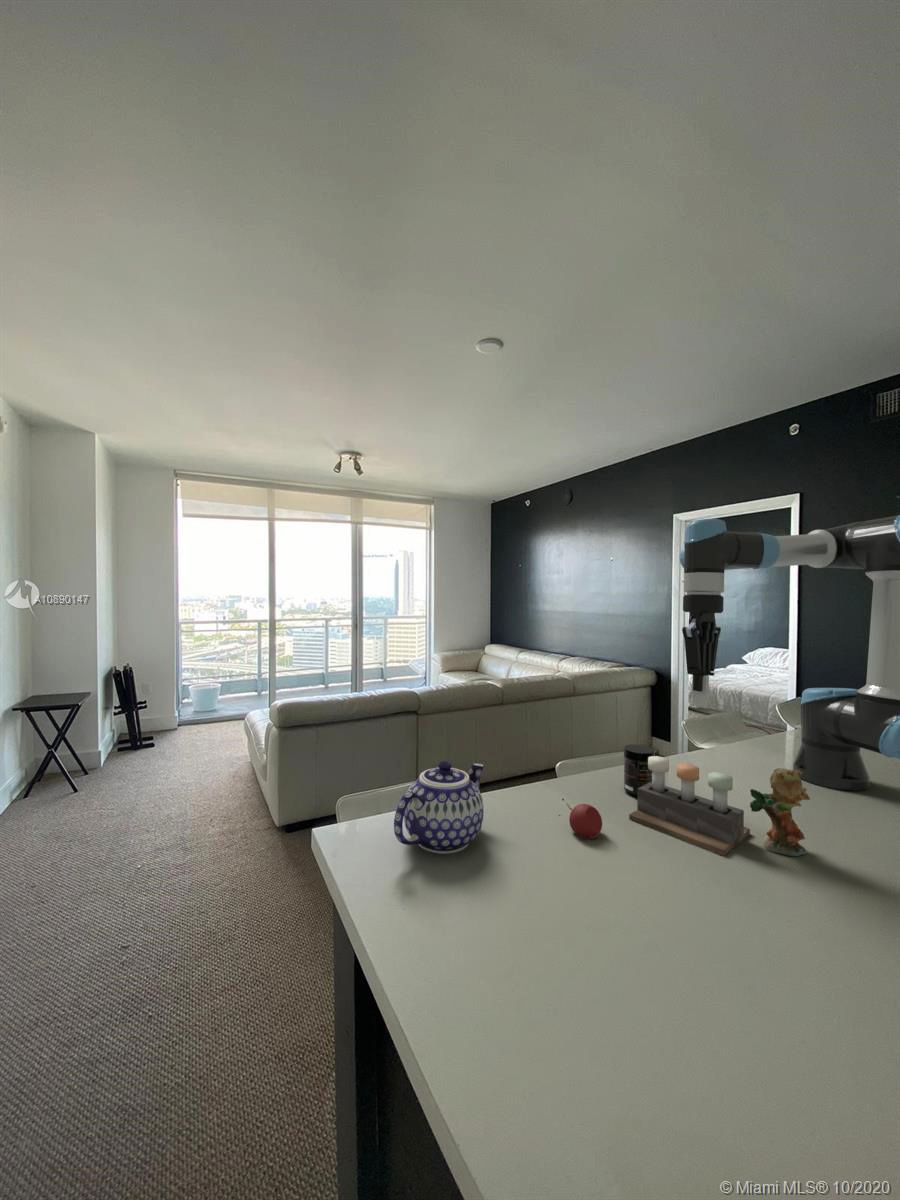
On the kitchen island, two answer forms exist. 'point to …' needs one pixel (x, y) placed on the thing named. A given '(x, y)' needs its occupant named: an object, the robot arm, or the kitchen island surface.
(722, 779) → the sage button
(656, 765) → the cream button
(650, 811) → the button board
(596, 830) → the fruit
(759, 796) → the figurine
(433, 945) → the kitchen island surface
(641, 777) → the supplement container
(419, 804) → the teapot
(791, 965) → the kitchen island surface
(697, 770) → the orange capped peg
